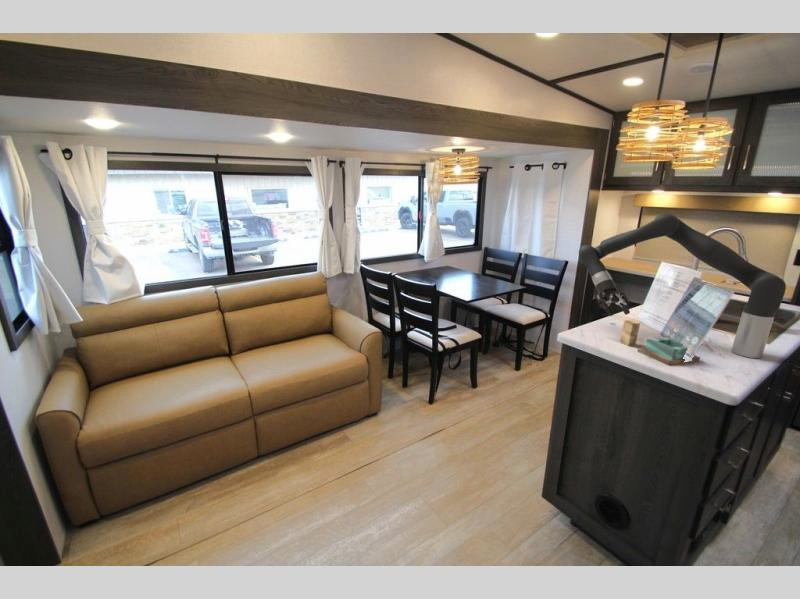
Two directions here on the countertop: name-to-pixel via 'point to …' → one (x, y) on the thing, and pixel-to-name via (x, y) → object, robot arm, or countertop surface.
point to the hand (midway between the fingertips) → (620, 314)
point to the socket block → (666, 350)
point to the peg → (630, 332)
